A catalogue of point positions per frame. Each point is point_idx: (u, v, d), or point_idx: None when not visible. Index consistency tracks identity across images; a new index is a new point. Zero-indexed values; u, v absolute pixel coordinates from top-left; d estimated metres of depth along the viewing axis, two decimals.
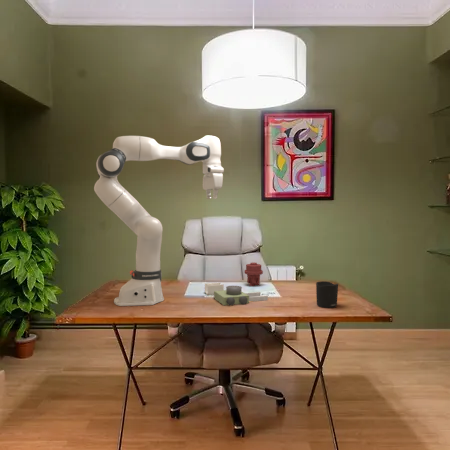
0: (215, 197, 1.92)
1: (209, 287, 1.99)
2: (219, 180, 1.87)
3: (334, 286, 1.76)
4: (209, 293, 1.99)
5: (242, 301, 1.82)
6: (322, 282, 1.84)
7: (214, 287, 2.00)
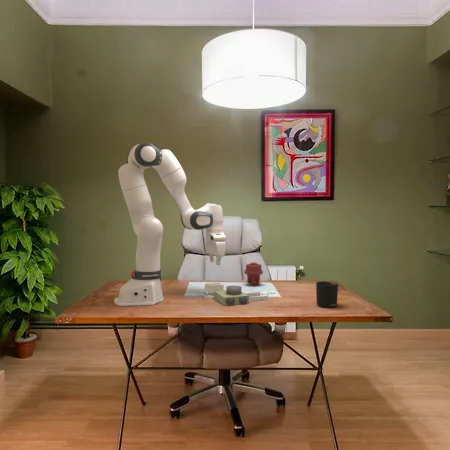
0: (218, 263, 1.97)
1: (209, 287, 1.99)
2: (222, 249, 1.93)
3: (334, 286, 1.76)
4: (209, 293, 1.99)
5: (242, 301, 1.82)
6: (322, 282, 1.84)
7: (214, 287, 2.00)
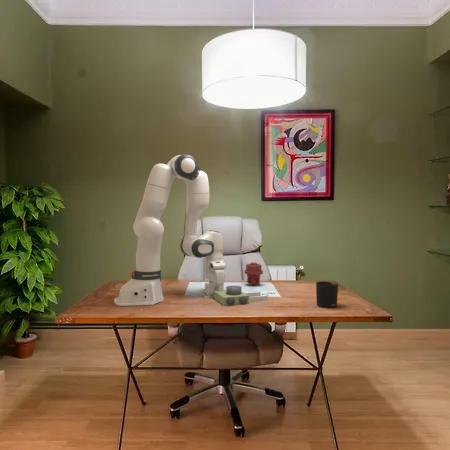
0: None
1: (209, 287, 1.99)
2: (221, 277, 1.93)
3: (334, 286, 1.76)
4: (209, 293, 1.99)
5: (242, 301, 1.82)
6: (322, 282, 1.84)
7: (214, 287, 2.00)
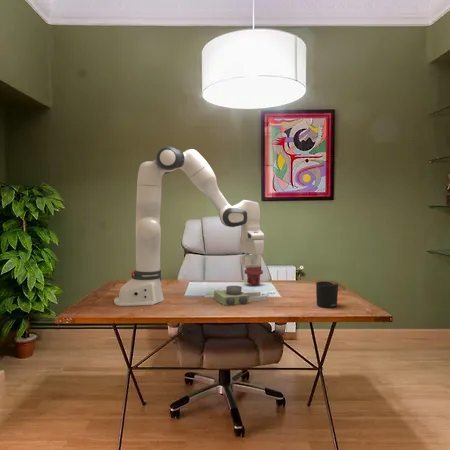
0: (254, 262, 1.89)
1: (246, 258, 1.89)
2: (260, 247, 1.83)
3: (334, 286, 1.76)
4: (246, 265, 1.89)
5: (242, 301, 1.82)
6: (322, 282, 1.84)
7: (251, 259, 1.90)
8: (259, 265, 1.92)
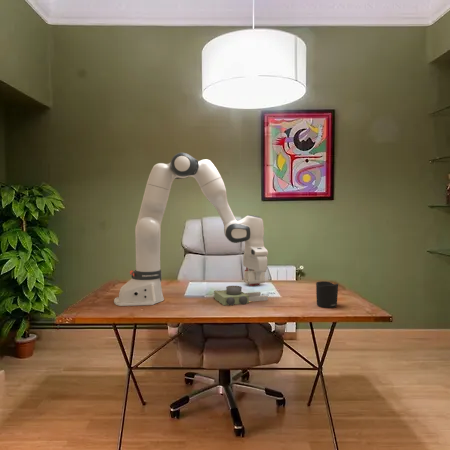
0: (258, 279, 1.88)
1: (250, 274, 1.89)
2: (264, 264, 1.83)
3: (334, 286, 1.76)
4: (250, 281, 1.89)
5: (242, 301, 1.82)
6: (322, 282, 1.84)
7: (254, 275, 1.89)
8: (262, 281, 1.91)
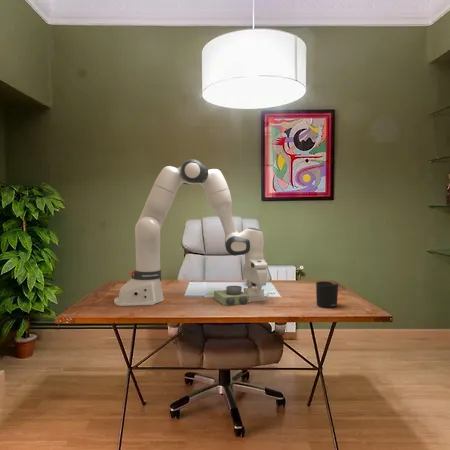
0: (258, 292, 1.87)
1: (249, 292, 1.89)
2: (264, 277, 1.83)
3: (334, 286, 1.76)
4: None
5: (242, 301, 1.82)
6: (322, 282, 1.84)
7: (254, 292, 1.90)
8: None
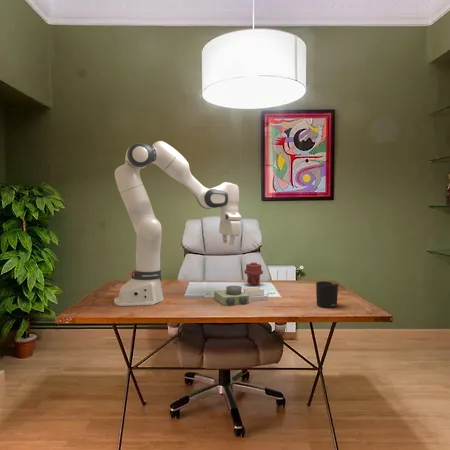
0: (232, 244, 1.94)
1: (249, 292, 1.89)
2: (237, 228, 1.89)
3: (334, 286, 1.76)
4: None
5: (242, 301, 1.82)
6: (322, 282, 1.84)
7: (254, 292, 1.90)
8: None
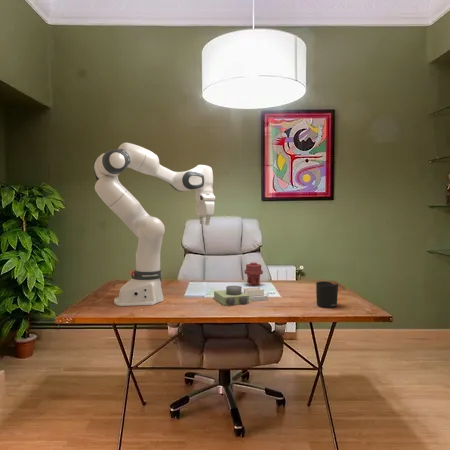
0: (207, 223, 2.01)
1: (249, 292, 1.89)
2: (211, 208, 1.97)
3: (334, 286, 1.76)
4: None
5: (242, 301, 1.82)
6: (322, 282, 1.84)
7: (254, 292, 1.90)
8: None
